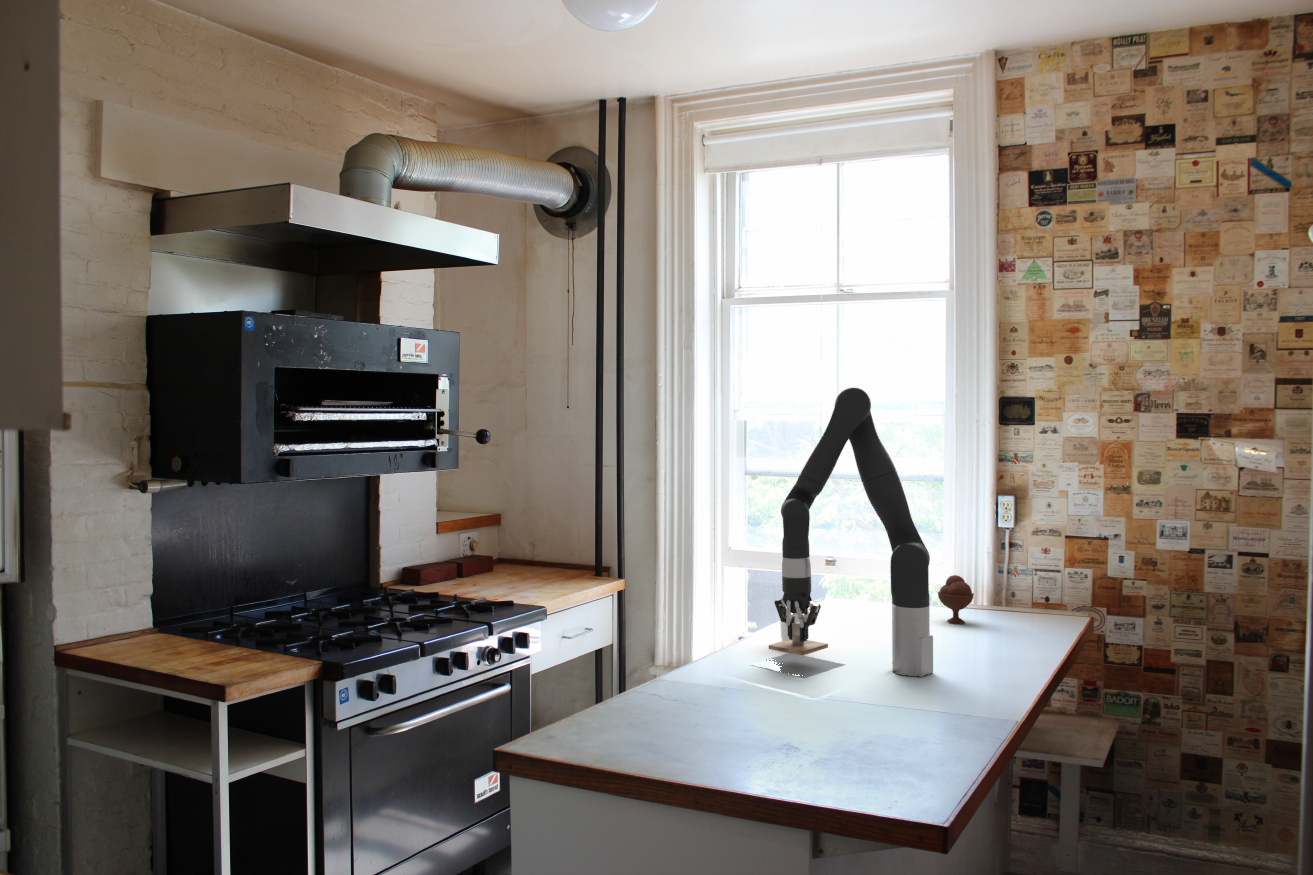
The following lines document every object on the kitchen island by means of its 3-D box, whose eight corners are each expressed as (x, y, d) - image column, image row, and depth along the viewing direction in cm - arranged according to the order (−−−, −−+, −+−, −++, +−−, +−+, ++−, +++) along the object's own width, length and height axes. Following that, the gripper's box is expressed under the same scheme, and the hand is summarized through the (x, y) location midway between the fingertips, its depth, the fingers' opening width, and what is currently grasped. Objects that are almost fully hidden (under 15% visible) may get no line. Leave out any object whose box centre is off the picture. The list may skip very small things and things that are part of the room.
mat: (845, 666, 231) (845, 664, 231) (804, 679, 219) (804, 677, 219) (790, 654, 244) (790, 652, 244) (748, 666, 232) (748, 664, 232)
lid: (828, 647, 231) (827, 622, 231) (803, 655, 223) (802, 629, 223) (793, 641, 239) (793, 617, 239) (768, 648, 231) (768, 624, 231)
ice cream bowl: (930, 620, 286) (930, 574, 286) (957, 617, 291) (956, 572, 291) (954, 627, 277) (954, 579, 277) (981, 623, 281) (981, 576, 281)
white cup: (799, 652, 247) (799, 616, 247) (775, 648, 251) (774, 613, 251) (812, 646, 253) (812, 612, 253) (788, 643, 258) (788, 608, 258)
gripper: (827, 575, 229) (828, 641, 229) (783, 570, 239) (785, 634, 239) (810, 578, 224) (811, 646, 224) (766, 573, 234) (767, 638, 234)
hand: (798, 639), depth 231 cm, fingers closed on lid, 3 cm apart
